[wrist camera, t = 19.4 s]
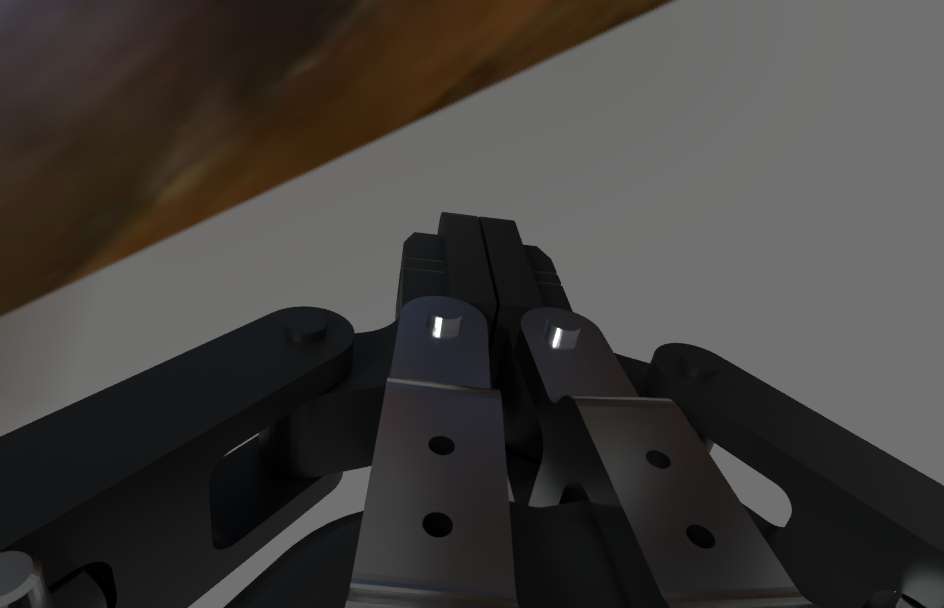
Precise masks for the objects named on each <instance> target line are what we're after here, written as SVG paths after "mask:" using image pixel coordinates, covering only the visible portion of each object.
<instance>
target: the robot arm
mask: <svg viewBox="0 0 944 608" xmlns="http://www.w3.org/2000/svg"><path fill="white" fill-rule="evenodd" d="M257 433H259V435H258V436H257V437H255V438H253V439H252V440H250V441H248V442H247V443H245V444H244V445H242V446H240V447H239V448H237V449H236V450H234V451H233V452H231V453H229V454H228V455H226V454H227V453H228V452H229V451H231V450H232V449H233V448H235V447H237V446H238V445H240V444H242V443H243V442H245V441H246V440H248V439H249V438H251V437H253V436H254V435H256V434H257ZM714 443H716V444H717V445H719V446H720V447H722V448H723V449H725V450H726V451H728V452H729V453H731V454H732V455H734V456H735V457H737V458H738V459H740V460H741V461H743V462H744V463H746V464H747V465H749V466H750V467H752V468H753V469H755V470H756V471H758V472H759V473H761V474H762V475H764V476H765V477H767V478H768V479H770V480H771V481H773V482H774V483H775V484H777V485H778V486H779V487H780V488H781V489H782V490H783V491H784V492H785V493H786V494H787V496H788V498H789V500H790V502H791V506H792V514H791V517H790V519H789V521H788V522H787V524H786V526H785V527H778V526H775V525H773V524H771V523H769V522H768V521H766V520H765V519H764V518H762V517H761V516H759V515H758V514H756V513H755V512H754V511H752V510H751V509H749V508H748V507H747V506H745V505H743V504H742V503H741V502H740V501H739V499H738V497H737V496H736V494H735V493H734V491H733V490H732V488H731V486H730V485H729V483H728V482H727V480H726V479H725V477H724V476H723V474H722V473H721V471H720V469H719V468H718V466H717V465H716V463H715V462H714V460H713V459H712V457H711V456H710V454H709V453H710V451H711V449H712V447H713V444H714ZM225 455H226V456H225ZM224 456H225V457H224ZM368 466H372V467H371V473H370V479H369V484H368V490H367V495H366V501H365V506H364V511H361V512H357V513H354V514H350V515H347V516H345V517H342V518H340V519H337V520H335V521H332V522H330V523H328V524H326V525H324V526H322V527H320V528H319V529H317V530H315V531H313V532H312V533H310V534H309V535H307V536H306V537H304V538H303V539H301V540H300V541H298V542H297V543H296V544H294V545H293V546H292V547H291V548H289V549H288V550H287V551H286V552H285V553H283V554H282V555H281V556H280V557H279V558H278V559H277V560H276V561H275V562H273V563H272V564H271V565H270V566H269V567H268V568H267V569H266V570H265V571H263V572H262V573H261V574H260V575H259V576H258V577H257V578H256V579H255V580H254V581H252V582H251V583H250V584H249V585H248V586H247V587H246V588H245V589H244V590H242V591H241V592H240V593H239V594H238V595H237V596H236V597H235V598H234V599H233V600H231V601H230V602H229V603H228V604H227V605H226V606H225V607H224V608H944V486H943V485H941V484H940V483H938V482H936V481H935V480H933V479H931V478H929V477H928V476H926V475H924V474H923V473H921V472H919V471H917V470H916V469H914V468H912V467H910V466H909V465H907V464H905V463H903V462H902V461H900V460H898V459H897V458H895V457H893V456H891V455H890V454H888V453H886V452H884V451H883V450H881V449H879V448H878V447H876V446H874V445H872V444H871V443H869V442H867V441H865V440H864V439H862V438H860V437H858V436H857V435H855V434H853V433H851V432H850V431H848V430H846V429H844V428H843V427H841V426H839V425H838V424H836V423H834V422H832V421H831V420H829V419H827V418H826V417H824V416H822V415H820V414H819V413H817V412H815V411H813V410H812V409H810V408H808V407H806V406H805V405H803V404H801V403H799V402H798V401H796V400H794V399H793V398H791V397H789V396H787V395H786V394H784V393H782V392H781V391H779V390H777V389H775V388H773V387H772V386H770V385H768V384H767V383H765V382H763V381H761V380H760V379H758V378H756V377H755V376H753V375H751V374H749V373H748V372H746V371H744V370H742V369H741V368H739V367H737V366H735V365H734V364H732V363H730V362H729V361H727V360H725V359H723V358H722V357H720V356H718V355H716V354H714V353H712V352H710V351H708V350H705V349H703V348H700V347H697V346H693V345H689V344H683V343H669V344H664V345H662V346H660V347H658V348H657V349H656V351H655V352H654V355H653V358H652V360H651V363H646V362H643V361H639V360H636V359H632V358H629V357H625V356H622V355H619V354H616V353H613V351H612V349H611V348H610V346H609V344H608V343H607V341H606V339H605V337H604V336H603V334H602V332H601V331H600V329H599V328H598V327H597V326H596V325H595V324H594V323H593V322H591V321H590V320H588V319H587V318H585V317H583V316H581V315H579V314H577V313H574V312H573V311H572V309H571V306H570V304H569V301H568V299H567V296H566V294H565V292H564V289H563V287H562V286H561V282H560V279H559V277H558V275H556V270H555V268H554V265H553V262H552V260H551V258H549V257H548V256H547V255H546V254H545V253H544V252H543V251H541V250H540V249H539V248H538V247H537V246H529V245H523V244H522V241H521V238H520V235H519V232H518V229H517V226H516V223H515V221H512V220H505V219H496V218H488V217H479V218H478V217H477V216H471V215H463V214H455V213H447V212H442V213H441V217H440V222H439V227H438V234H437V235H434V234H425V233H416V232H415V233H413V234H412V235H411V236H410V237H409V238H408V239H407V240H406V241H405V242H404V245H403V253H402V261H401V270H400V278H399V286H398V295H397V303H396V320H395V322H393V323H392V324H390V325H388V326H387V327H384V328H382V329H379V330H375V331H370V332H363V333H354V329H353V326H352V325H351V324H350V322H349V321H348V320H346V319H345V318H344V317H342V316H341V315H339V314H337V313H335V312H333V311H330V310H327V309H322V308H317V307H303V306H302V307H291V308H286V309H282V310H278V311H275V312H273V313H270V314H269V315H266V316H264V317H262V318H260V319H257V320H255V321H253V322H251V323H249V324H246V325H244V326H243V327H240V328H238V329H235V330H234V331H231V332H229V333H227V334H224V335H222V336H220V337H218V338H216V339H213V340H212V341H209V342H207V343H205V344H203V345H200V346H198V347H196V348H194V349H192V350H189V351H187V352H185V353H183V354H181V355H178V356H176V357H174V358H172V359H170V360H168V361H165V362H163V363H161V364H159V365H156V366H154V367H153V368H150V369H148V370H145V371H143V372H141V373H139V374H137V375H135V376H132V377H130V378H128V379H126V380H124V381H121V382H119V383H117V384H115V385H113V386H111V387H108V388H106V389H104V390H102V391H99V392H98V393H95V394H93V395H91V396H88V397H86V398H84V399H82V400H80V401H78V402H75V403H73V404H71V405H69V406H67V407H64V408H63V409H60V410H58V411H56V412H54V413H51V414H49V415H47V416H45V417H42V418H40V419H38V420H36V421H34V422H32V423H29V424H27V425H25V426H23V427H20V428H18V429H16V430H14V431H12V432H10V433H7V434H5V435H3V436H1V437H0V608H188V607H189V606H190V605H191V604H193V603H194V602H195V601H196V600H198V599H199V598H200V597H201V596H203V595H204V594H205V593H206V592H208V591H209V590H210V589H211V588H213V587H214V586H215V585H216V584H217V583H219V582H220V581H221V580H222V579H224V578H225V577H226V576H227V575H229V574H230V573H231V572H232V571H234V570H235V569H236V568H237V567H239V566H240V565H241V564H242V563H244V562H245V561H246V560H247V559H249V558H250V557H251V556H252V555H253V554H254V553H256V552H257V551H258V550H260V549H261V548H262V547H263V546H265V545H266V544H267V543H268V542H270V541H271V540H272V539H273V538H275V537H276V536H277V535H278V534H279V533H281V532H282V531H283V530H284V529H286V528H287V527H288V526H289V525H291V524H292V523H293V522H294V521H295V520H297V519H298V518H299V517H301V516H302V515H303V514H304V513H305V512H307V511H308V510H309V509H310V508H312V507H313V506H314V505H315V504H317V503H318V502H319V501H320V500H322V499H323V498H324V497H325V496H326V495H328V494H329V493H330V492H332V490H334V489H335V488H336V486H337V485H338V484H339V482H340V480H341V478H342V475H343V471H348V470H353V469H358V468H363V467H368ZM894 591H896V593H895V592H894Z"/></svg>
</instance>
